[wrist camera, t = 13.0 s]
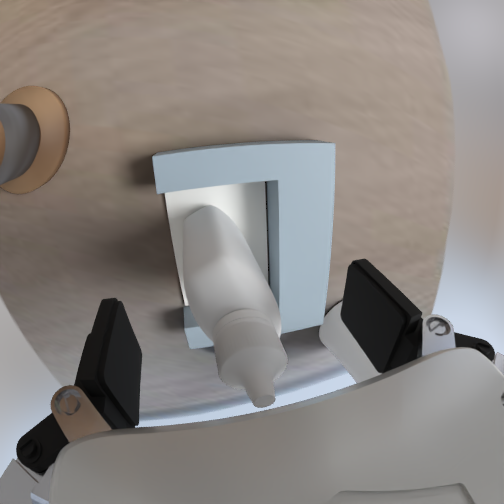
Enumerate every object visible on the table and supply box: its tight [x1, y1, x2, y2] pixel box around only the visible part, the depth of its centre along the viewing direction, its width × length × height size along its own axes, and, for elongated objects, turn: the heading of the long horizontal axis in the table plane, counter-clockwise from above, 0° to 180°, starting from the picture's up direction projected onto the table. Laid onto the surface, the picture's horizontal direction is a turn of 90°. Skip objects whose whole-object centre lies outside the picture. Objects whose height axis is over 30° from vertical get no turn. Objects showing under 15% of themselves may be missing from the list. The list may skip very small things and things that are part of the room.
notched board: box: [152, 140, 335, 349], centre depth 18 cm, size 13×10×2 cm
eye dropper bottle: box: [183, 205, 288, 408], centre depth 13 cm, size 4×6×12 cm
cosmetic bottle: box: [319, 301, 382, 383], centre depth 15 cm, size 6×6×22 cm
